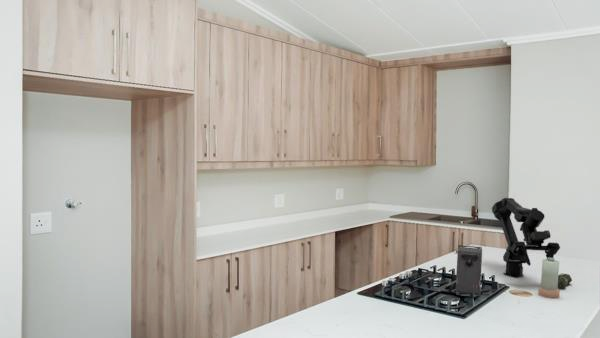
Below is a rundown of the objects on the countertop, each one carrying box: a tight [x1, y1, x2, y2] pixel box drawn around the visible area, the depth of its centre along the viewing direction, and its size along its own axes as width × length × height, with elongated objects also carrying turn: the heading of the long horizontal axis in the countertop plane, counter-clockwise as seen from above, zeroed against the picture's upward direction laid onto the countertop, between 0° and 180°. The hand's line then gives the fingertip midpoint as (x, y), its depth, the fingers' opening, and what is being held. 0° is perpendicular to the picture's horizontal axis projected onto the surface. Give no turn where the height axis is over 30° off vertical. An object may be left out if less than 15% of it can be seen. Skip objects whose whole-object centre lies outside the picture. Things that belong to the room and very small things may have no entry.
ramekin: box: [537, 285, 561, 299], centre depth 205 cm, size 8×8×3 cm
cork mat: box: [508, 289, 534, 298], centre depth 207 cm, size 9×9×1 cm
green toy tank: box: [558, 273, 573, 290], centre depth 221 cm, size 6×5×18 cm
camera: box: [453, 244, 483, 297], centre depth 210 cm, size 11×17×20 cm, turn 161°
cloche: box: [540, 257, 560, 291], centre depth 205 cm, size 6×6×12 cm
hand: (540, 265), depth 213 cm, fingers open, 9 cm apart
